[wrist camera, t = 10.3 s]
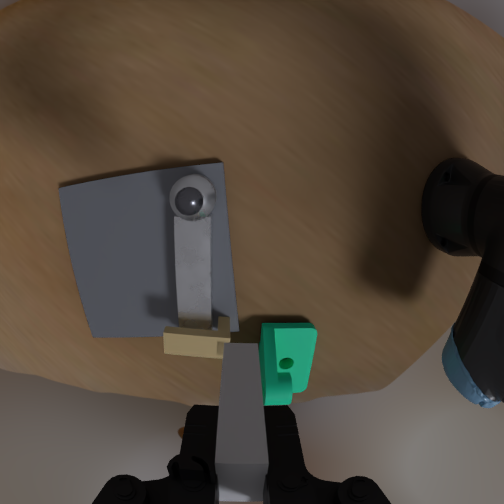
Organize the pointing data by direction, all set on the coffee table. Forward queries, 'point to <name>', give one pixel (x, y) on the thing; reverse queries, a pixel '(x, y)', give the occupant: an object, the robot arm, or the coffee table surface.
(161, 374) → the coffee table surface
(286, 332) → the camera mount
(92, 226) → the plate
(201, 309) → the link
